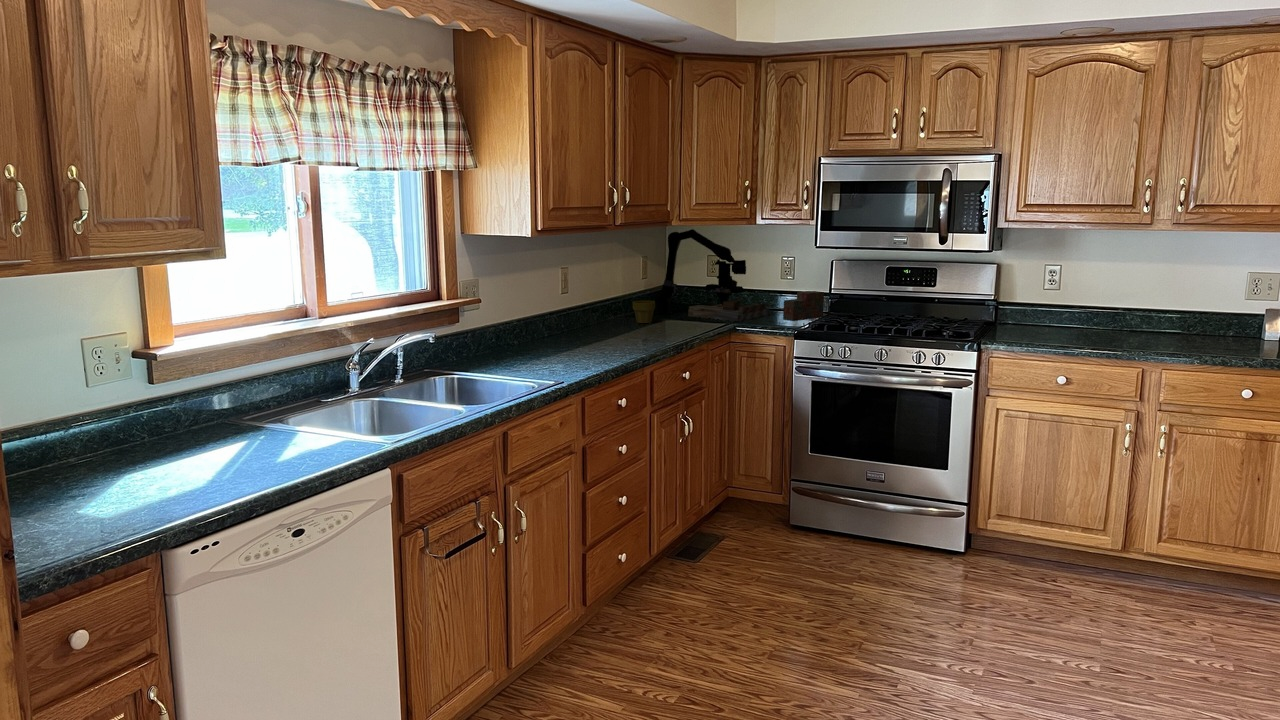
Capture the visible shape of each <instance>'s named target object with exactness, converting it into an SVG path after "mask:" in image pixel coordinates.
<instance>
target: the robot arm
mask: <svg viewBox="0 0 1280 720" xmlns="http://www.w3.org/2000/svg"><path fill="white" fill-rule="evenodd" d="M687 239H691V240H694V241H695V242H696V243H698V244H700V245H702V246H703V247H704V248H705V247H706V249H708V250H710V251H711V252H712V253H713V254H714V255H715V256H716V257H717V258H719V259H717V260H716V262H714V265H716V266H718V274H717V276H716V279H717V280H718V282H717V283H718V284H717V283H709V284H706V285H705V287H704V290H705V291H707V292H710V291H711V292H712V290H714V291H715V292H714V293H715V294H716V295H717V298H718V299H719V301H720V304H722V306H723V302H724V301H729V300H728V299H729V297H730V296H731V294H741V293H742V294H743V293H744V287H743V286H740V285H738V281H737V280H735V279H733V276H732V275H731V273H733V274H734V275H746V274H747V265H746V264H747V261H746V259H742V260H735V258H734V257H733V255H732V251H731V249H730V248H729V247H726V246H724V245H721V244H718V243H716V242H714V241H712V240H711V239H709V238H708V237H706V236H705V235H703V234H701V233H699V232H697V231H696V230H695V229H689V230H686V231H681V232H679V231H672V232H671V233H669V234H668V237H667V245H668V247H667V248H668V255H667V262H666V263H667V264H666V270H665V271H666V272H665V279H664V281H663V284H662V287H661V291H660V294H659V295H657V296H656V298H655V299H656V311H654V314H658V315H669V314H673V311H671V300H670V299H671V298H672V296H674V295H675V294H676V293H677V290H676V289H677V285H678V284H677V283H675V282H674V279H675V271H676V264H677V255H678V250H679V248H680V244H681V242H682V241H683V240H687Z"/></svg>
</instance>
